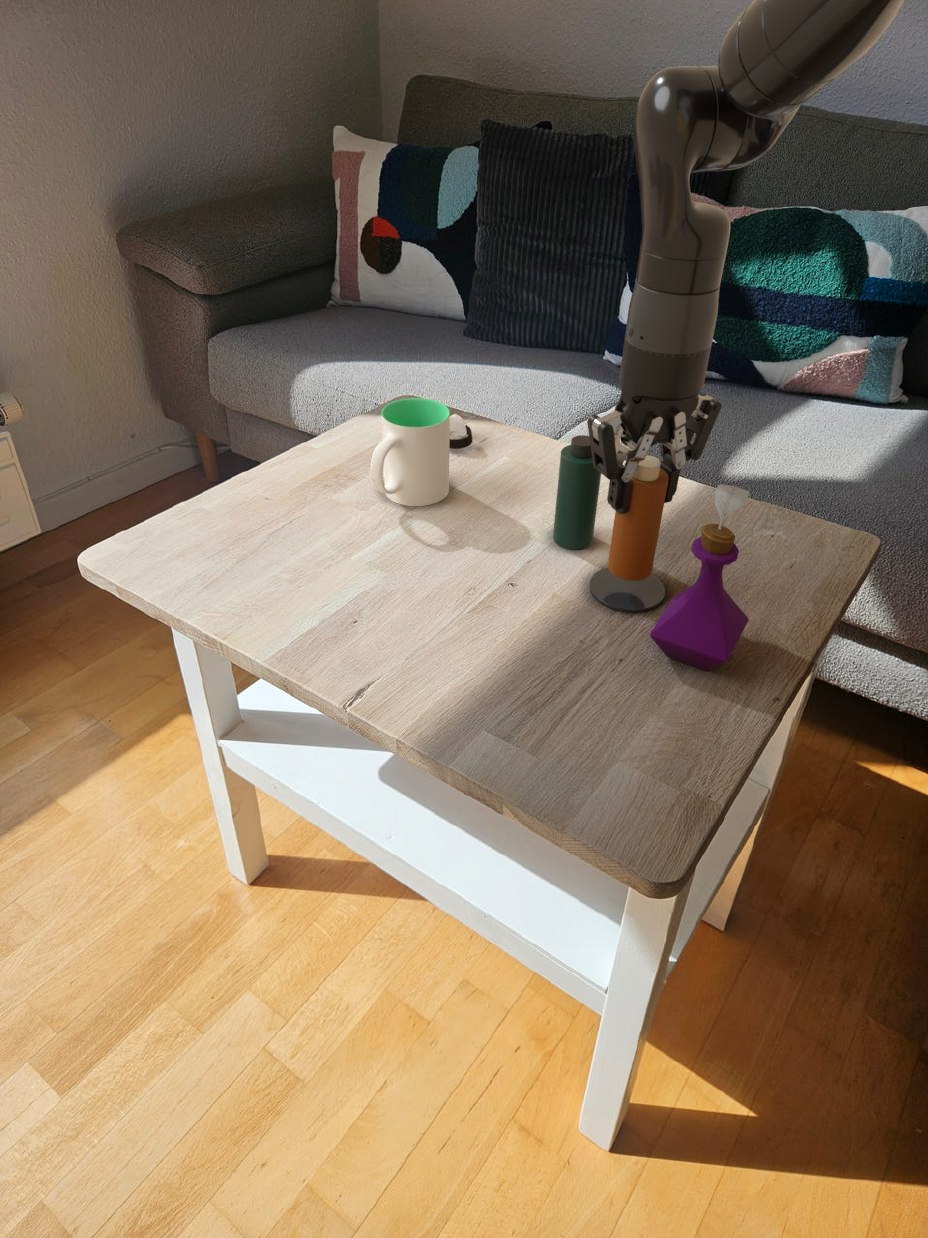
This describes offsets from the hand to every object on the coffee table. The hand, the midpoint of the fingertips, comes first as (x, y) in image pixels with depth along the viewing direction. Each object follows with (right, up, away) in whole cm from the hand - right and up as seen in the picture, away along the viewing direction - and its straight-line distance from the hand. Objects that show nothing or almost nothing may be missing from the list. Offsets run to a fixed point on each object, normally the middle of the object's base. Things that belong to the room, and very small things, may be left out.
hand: (640, 503), depth 86 cm
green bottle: (-5, -2, +14) cm, 15 cm away
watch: (-20, +13, +34) cm, 41 cm away
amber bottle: (0, -6, +5) cm, 8 cm away
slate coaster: (0, -8, +7) cm, 11 cm away
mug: (-25, +4, +21) cm, 33 cm away
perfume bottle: (+5, -15, -1) cm, 16 cm away
